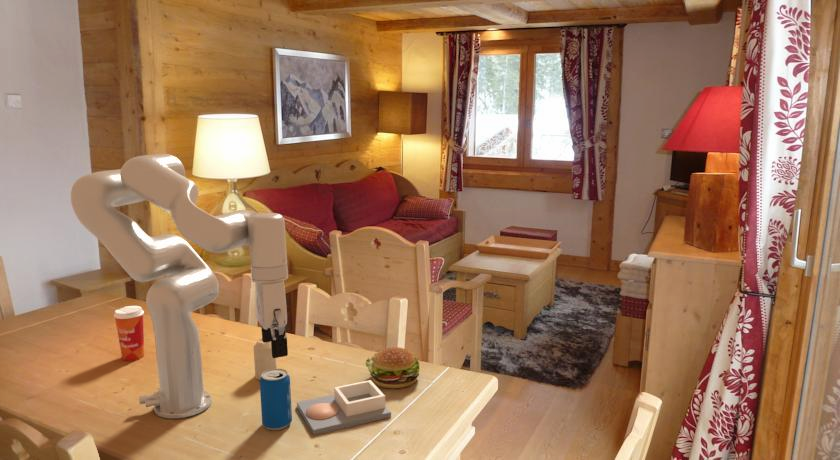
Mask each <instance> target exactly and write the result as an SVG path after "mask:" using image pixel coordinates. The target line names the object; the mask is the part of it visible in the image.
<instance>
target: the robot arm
mask: <svg viewBox="0 0 840 460" xmlns="http://www.w3.org/2000/svg"><path fill="white" fill-rule="evenodd" d="M198 198H199V188H198V185H197V184H196V183H195V182H194V181H193V180H191V179H189V178H187V177H186V169H185V166H184V165H183V163H182V161H181V160H180V159H179V158H177V156H174V155H172V154H169V153H157V154H156V153H155V154H145V155H138V156H135V157H131V158H130V159H128V160H127V161H125V162H124V164H123V165H122V167H121V168H120V169H119V168H117V169H109V170H101V171H95V172H91V173H88V174H87V173H86V174H85V175H83V176H81V177H79V178H78V179H77V180H75V182H74V183H73V185H72V187H71V191H70V201H71V205H72V206H71V207H72V210H73V212H74V214H75V216H76V218H77V219H78V221H79V222H80V223H81V225H82V226H83V227H84V228H85V229H86V230H87V231H89V232H90V233H91V234H92V235H93V236H94V237H95V238H96V239H98V241H99V242H100V243H101V244H102V245H103V246H104V247H105V249H106V250H107V251H108V252H109V253H110V254H111V256H112V257H113V258H114V259H115V260H116V262H117V263H118V264H119V265H120V267H121V268H122V269H123V270H124V271H125V272H126V273H127V274H128V276H129V277H130V278H131V279H132V280H134V281H136V282H139V283H146V282H151V281H154V280H157V279H158V281H156V282H155V283H153V284H152V285H151V286H150V287H149V289H148V291H147V293H146V297H145V300H146V301H145V302H146V307H147V309H148V312H149V317H150V319H151V324H152V328H153V333H154V341H155V343H154V345H155V353H156V362H157V374H158V384H159V385H158V386H159V387H157V391H155V392H153V393H152V394H145V395H139V396H138V401H139V405H145V408H149V407H152V406H153V407H154V409H153V410H154V413H155V414H156V416H158V417H161V418H163V419H172V420H173V419H175V420H176V419H185V418H189V417H192V416H196V415H198V414H200V413H202V412H204V411H205V410H207V409H208V408H209V407H210V406H211V404H212V396H211V394H210V393H209V392H207V391H206V390H204V389H205V388H204V377H203V363H202V353H201V351H202V350H201V338H200V337H201V336H200V331H199V328H198V325H197V323H196V322H195V321H194V319H193V317H192V315H191V314H192V313H193V312H195V311H197V310H199V309H200V308H203V307H205V306H207V305H209V304H211V303H212V302H213V301H215V300H216V299H217V297H218V294H219V292H220V285H219V281H218V278H217V276H216V274H215V273H214V272H213V270H212V269H211V268H210V267H209V265H208V264H207V263H206V262H205V261H204V260H203V258H202V257H201V256H200V255H199V254H198V253H197V252H196V251H195V249H194V248H193V247H192V245H190V244H189V242H191V243H192V244H194V245H196V246H198V247H200V248H201V249H203V250H206V251H208V252H211V253H216V254H222V253H227V252H228V251H231V250H234V249H237V248H240V247H244V246H247V245H248V246H249V248H248V249H249V260H250V276H251V282H253V283H255V284H254V290H255V291H254V293H255V294H254V295H255V297H254V299H255V300H254V301H255V318H256V319H257V322H258V323H259V324H260V326H261V339H262V341H263V342H264V343H266V342H271V348H272V357H273V358H276V359H278V358H283V357H288V354H289V352H288V351H289V350H288V337H287V332H286V326H287V325H288V312H287V311H288V309H287V298H286V287H285V281H286V280H288V279H289V269H288V255H287V254H288V253H287V238H286V237H287V236H286V223H285V221H286V220H285V218H284V216H283V215H282V214H280V213H277V212H263V213H262V212H257V211H252V210H250V209H249V210H247V209H240V210H234V211H231V212H230V211H229V212H227V213H223V214H219V215H212V214H210V213H208V212H206V211H205V210H203V209H202V208H199V206H197V205H196V203H197V201H198ZM144 201H147V202H149V203H151V204H152V205H154V206H156V207H158V208H159V209H161V210H162V211H165V212H166V213H167V214H169V215H171V220H172V223H173V224H174V226H175V228H176V229H177V231H178V232H179V234H180V235H181V236H182V237H181V236H179V235H177V234H172V233H165V234H160V235H156V236H150V235H148V234H147V233H146V232H145V231H144V230H143V228H141V227H140V225H139V224H138V223H137V222H136V221H135V220H134V219H133V218H132V217H130V216H128V215H126V214H124V213H123V212H120V211H119V210H117V209H115V208H117V207H122V206H127V205H132V204H137V203H141V202H144ZM185 239H187V240H188V241H189V242H188V241H187V240H185ZM165 276H166V277H165ZM162 277H163V278H162ZM160 278H161V279H160Z"/></svg>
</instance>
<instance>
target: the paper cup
mask: <svg viewBox="0 0 840 460" xmlns="http://www.w3.org/2000/svg"><path fill="white" fill-rule="evenodd" d="M144 313H145V311H144V310H143V308H142V307H141V306H139V305H127V306H122V307H120V308H118V309H116V310H114V314H113V318H114V319H115V325H116V331H117V337H118V342H119V347H120V354H121V358H122V360H123V361H126V362H132V361H133V360H134V361H137V360H141V359H142V358H143V357H144V356H145V337H144V335H145V333H144V330H145V329H144ZM140 358H141V359H140Z"/></svg>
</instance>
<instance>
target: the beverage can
mask: <svg viewBox="0 0 840 460" xmlns="http://www.w3.org/2000/svg"><path fill="white" fill-rule="evenodd" d="M259 392H260V393H259V394H260V407H261V408H260V411H261V412H260V413H261V424H262V426H263V427H265V428H266V429H268V430H271V431H280V430H283V429H285V428H287V427H288V426H289V425H290V424H291V423H292V421H293V413H292V412H293V411H292V397H291V396H292V394H291V377H290V375H289V373H288V370H287V369H283V368H277V369H270V370H267V371H265V372H263V373H262V375H261V378H260V380H259Z"/></svg>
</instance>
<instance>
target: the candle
mask: <svg viewBox="0 0 840 460" xmlns="http://www.w3.org/2000/svg"><path fill="white" fill-rule="evenodd" d="M253 360H254V361H253V363H254V376H255V377H254V378H255V379H256V380H258V381H260V378H261V375H262V373H263V372H265V371H267V370H270V369H278V367H277V358H273V357H272V348H271V342H266V343H264V342H263V341H262V338H259V340H257V341H256V342H255V343H254V345H253Z"/></svg>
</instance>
